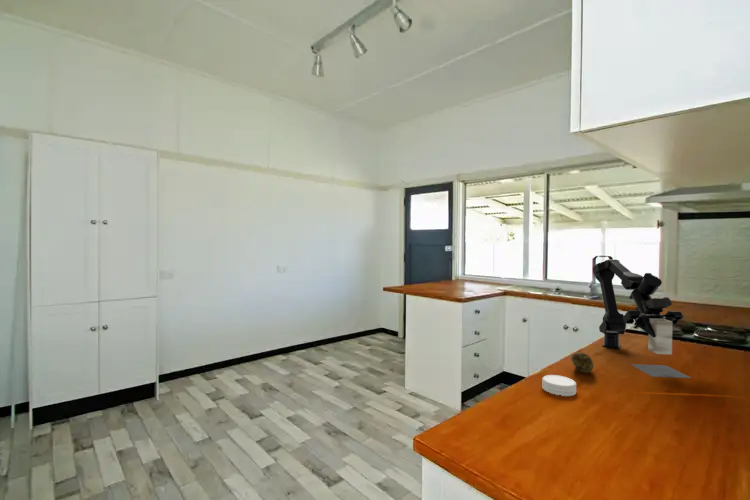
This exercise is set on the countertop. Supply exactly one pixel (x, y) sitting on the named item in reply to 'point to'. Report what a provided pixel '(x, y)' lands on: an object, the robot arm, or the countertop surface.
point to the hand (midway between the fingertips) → (662, 337)
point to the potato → (582, 362)
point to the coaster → (559, 385)
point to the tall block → (660, 336)
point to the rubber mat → (660, 371)
